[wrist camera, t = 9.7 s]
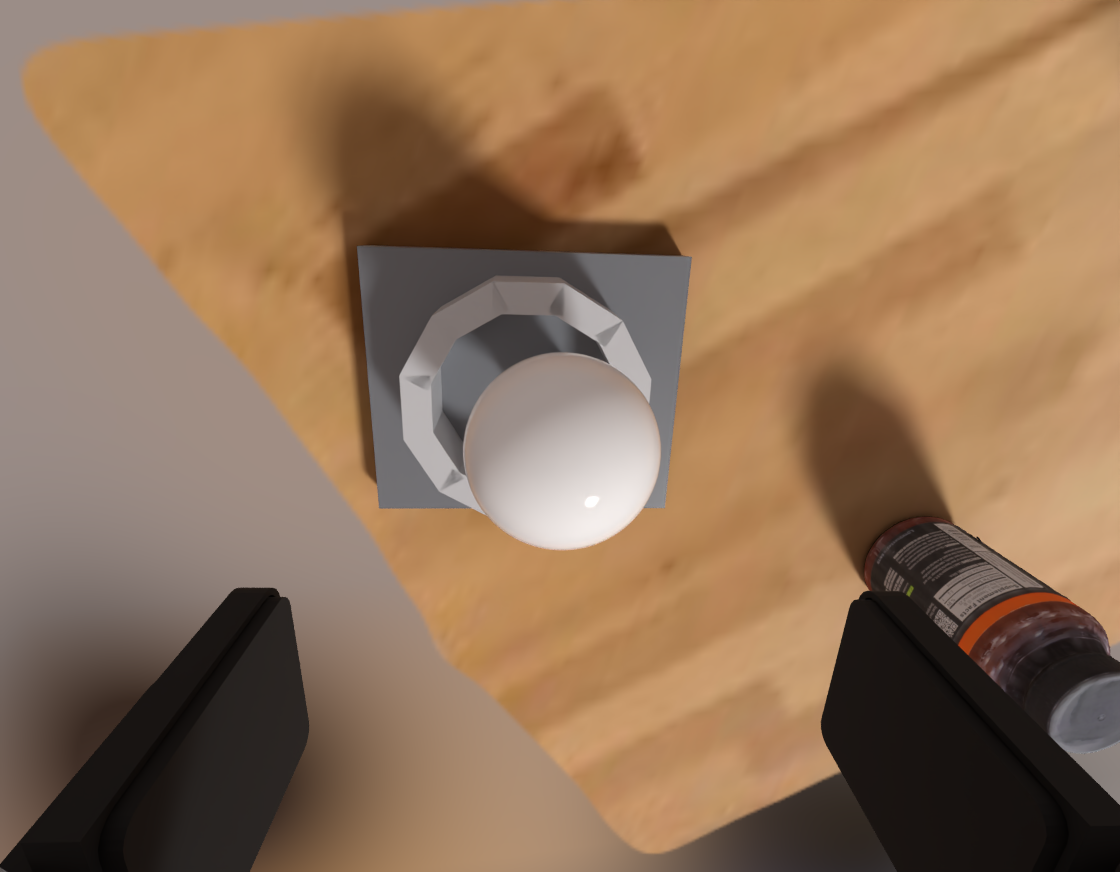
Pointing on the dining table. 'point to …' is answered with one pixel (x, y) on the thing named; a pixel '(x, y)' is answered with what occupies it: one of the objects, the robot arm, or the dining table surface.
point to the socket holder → (502, 345)
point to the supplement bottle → (1007, 628)
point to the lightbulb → (562, 451)
